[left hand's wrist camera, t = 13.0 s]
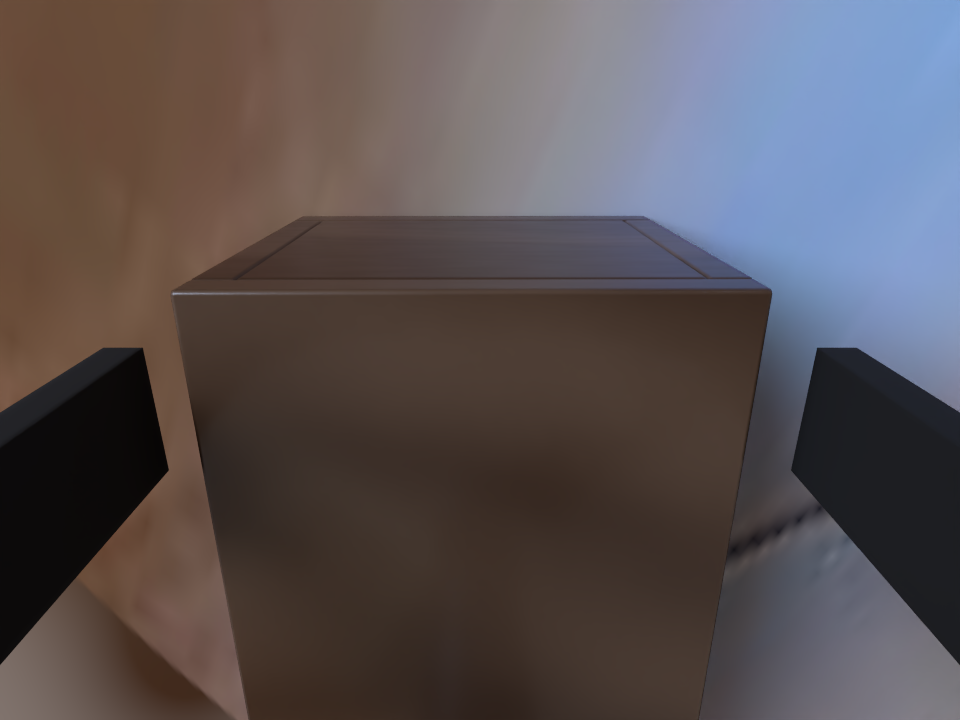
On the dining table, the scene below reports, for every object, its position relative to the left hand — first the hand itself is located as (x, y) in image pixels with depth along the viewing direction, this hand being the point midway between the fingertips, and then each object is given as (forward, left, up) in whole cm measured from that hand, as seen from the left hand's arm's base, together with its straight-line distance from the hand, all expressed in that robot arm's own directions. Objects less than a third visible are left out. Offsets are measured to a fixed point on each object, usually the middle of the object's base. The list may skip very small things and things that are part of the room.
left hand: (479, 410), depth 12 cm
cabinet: (0, +7, -7) cm, 10 cm away
